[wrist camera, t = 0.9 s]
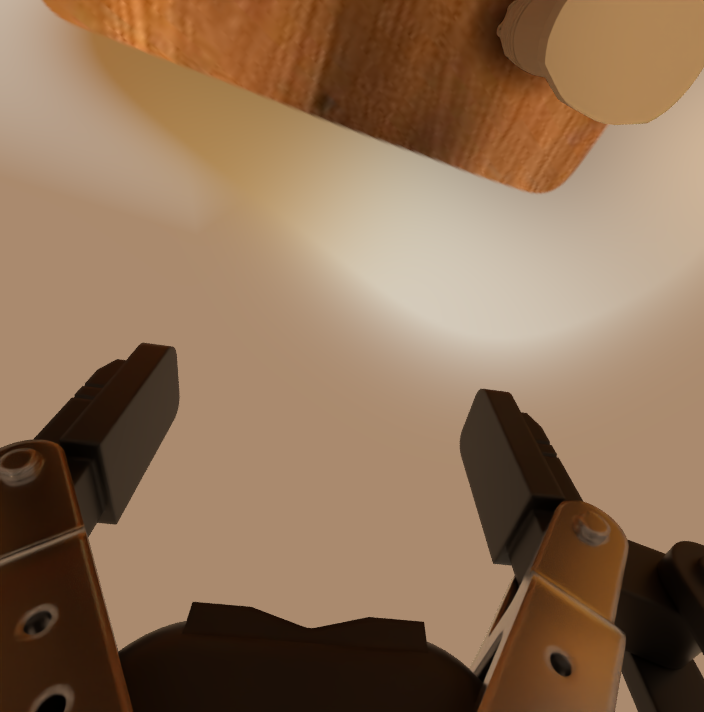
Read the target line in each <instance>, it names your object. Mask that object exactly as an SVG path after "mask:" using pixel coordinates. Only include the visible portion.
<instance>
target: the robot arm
mask: <svg viewBox="0 0 704 712" xmlns="http://www.w3.org/2000/svg"><path fill="white" fill-rule="evenodd" d="M178 383H179V381H178V367H177V354H176V350H175V348H174V347H171V346H164V345H156V344H149V343H141V344H140V345H139V346H138V347H137V348H136V350H135V351H134V352H133V353H132V354H131V355H130V356H129V358H128V359H127V360H119V359H117V360H115V361H113V362H111V363H109V364H107V365H106V366H104V367H102V368H100V369H98V370H97V371H96V372H95V373H94V374H93V375H92V377H90V379H89V380H88V381H87V382H86V383H85V386H82V387H81V388H80V389H79V390H78V392H77V393H76V394H75V397H74V398H71V399H70V400H69V401H68V402H67V404H66V405H65V406H64V407H63V408H62V409H61V410H60V411H59V412H58V413H57V414H56V415H55V417H54V418H53V419H52V420H51V421H50V422H49V423H48V424H47V425H46V426H45V428H43V430H42V431H41V432H40V433H39V434H38V435H37V436H36V437H35V438H34V439H33V440H25V441H20V442H16V443H12V444H10V445H7V446H4V447H2V448H0V712H615V707H616V701H617V694H618V689H619V682H620V676H621V672H622V674H623V676H624V679H625V681H626V684H627V686H628V688H629V691H630V693H631V696H632V698H633V700H634V703H635V705H636V708H637V710H638V712H704V678H703V676H702V675H701V672H700V671H699V669H698V667H697V665H696V663H695V662H694V660H693V658H695V657H696V656H697V655H698V654H699V653H701V652H703V655H704V545H701V544H698V543H694V542H689V541H682V542H678V543H676V544H675V545H674V546H673V547H672V548H671V549H670V550H669V551H668V552H667V553H666V554H664V553H662V552H659V551H656V550H654V549H651V548H648V547H646V546H643V545H640V544H638V543H635V542H632V541H630V540H627V538H626V536H625V534H624V532H623V530H622V529H621V528H620V526H619V525H618V524H617V523H616V522H615V521H614V520H613V519H612V518H611V517H610V516H609V515H607V514H606V513H605V512H603V511H602V510H600V509H599V508H597V507H595V506H593V505H591V504H588V503H585V502H583V500H582V499H581V497H580V495H579V493H578V491H577V490H576V488H575V486H574V484H573V482H572V481H571V479H570V477H569V475H568V474H567V472H566V470H565V468H564V466H563V465H562V463H561V461H560V459H559V458H557V457H556V456H557V454H556V452H555V450H554V449H553V447H552V445H550V442H549V440H548V438H547V436H546V434H545V433H544V431H543V429H542V428H541V426H540V425H539V424H538V423H537V422H535V421H534V420H533V419H532V418H531V417H530V416H529V415H528V414H527V413H521V412H520V410H519V408H518V406H517V404H516V402H515V400H514V399H513V396H512V395H511V394H510V393H509V392H503V391H495V390H488V389H480V390H479V391H478V392H477V394H476V396H475V399H474V401H473V404H472V406H471V409H470V412H469V414H468V417H467V419H466V422H465V425H464V427H463V430H462V432H461V438H460V453H461V457H462V460H463V463H464V467H465V470H466V474H467V477H468V480H469V483H470V487H471V490H472V494H473V497H474V501H475V504H476V507H477V511H478V514H479V517H480V521H481V524H482V528H483V531H484V534H485V537H486V541H487V544H488V548H489V551H490V554H491V558H492V561H493V564H503V565H512V568H513V571H514V574H515V576H514V577H513V579H512V580H511V582H510V584H509V586H508V589H507V591H506V593H505V595H504V597H503V599H502V602H501V604H500V606H499V608H498V610H497V613H496V615H495V617H494V619H493V621H492V623H491V626H490V628H489V630H488V632H487V634H486V637H485V639H484V641H483V643H482V645H481V647H480V649H479V651H478V653H477V655H476V657H475V659H474V661H473V662H472V664H471V666H470V668H467V667H466V666H465V665H464V664H463V663H462V662H461V661H459V660H458V659H457V658H455V657H454V656H452V655H451V654H449V653H448V652H446V651H445V650H443V649H441V648H439V647H437V646H435V645H434V644H431V643H429V642H427V641H426V634H425V627H424V622H419V621H407V620H396V619H385V618H384V619H383V618H373V617H368V618H362V619H357V620H352V621H347V622H343V623H337V624H332V625H327V626H323V627H317V628H306V627H303V626H300V625H297V624H295V623H292V622H290V621H287V620H284V619H282V618H279V617H276V616H274V615H271V614H269V613H266V612H263V611H261V610H258V609H255V608H253V607H246V606H234V605H223V604H212V603H211V604H210V603H199V602H193V603H192V606H191V609H190V612H189V615H188V618H187V621H184V622H179V623H175V624H172V625H169V626H166V627H162V628H160V629H158V630H155V631H153V632H151V633H148V634H146V635H144V636H143V637H141V638H139V639H137V640H136V641H134V642H132V643H130V644H129V645H127V646H126V647H124V648H123V649H122V650H120V651H119V652H118V648H117V645H116V641H115V637H114V633H113V630H112V626H111V622H110V618H109V615H108V611H107V607H106V603H105V600H104V596H103V592H102V588H101V585H100V581H99V577H98V573H97V570H96V566H95V562H94V558H93V554H92V551H91V547H90V543H89V540H88V537H89V535H90V534H91V532H92V530H93V529H94V527H95V525H96V523H107V524H117V523H118V521H119V519H120V517H121V515H122V513H123V512H124V510H125V508H126V506H127V504H128V503H129V501H130V499H131V497H132V495H133V493H134V492H135V490H136V488H137V486H138V484H139V482H140V480H141V479H142V477H143V475H144V473H145V472H146V470H147V468H148V466H149V464H150V462H151V461H152V459H153V457H154V455H155V453H156V451H157V450H158V448H159V446H160V444H161V442H162V441H163V439H164V437H165V435H166V433H167V432H168V430H169V428H170V426H171V424H172V422H173V421H174V418H175V416H176V414H177V410H178V405H179V384H178Z"/></svg>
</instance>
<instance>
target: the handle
mask: <svg viewBox="0 0 704 712" xmlns="http://www.w3.org/2000/svg"><path fill="white" fill-rule="evenodd" d="M497 36H499V37H500V39H501V43H502V47H503V50H504V54H505V56H506V57H507V58H508V59H510V60H511V61H512V62H513V63H514V64H515V65H516V66H518V67H519V68H521V69H522V70H524V71H526V72H528V73H530V74H532V75H536V76H540V77H545V78H546V80H547V82H548V83H549V85H550V87H551V89H552V90H553V92H554V94H555V95H556V97H557V98H558V99H559V100H560V101H561V102H563V103H564V104H566V105H568V106H570V107H571V108H573V109H575V110H577V111H578V112H580V113H582V114H584V115H586V116H587V117H589V118H591V119H593V120H595V121H598V122H600V123H603V124H613V125H621V124H643V123H648V122H650V121H652V120H654V119H656V118H657V117H659V116H660V115H662V114H663V113H664V112H666V111H667V110H668V109H670V108H671V107H672V106H673V105H674V104H675V103H676V102H677V101H678V100H679V99H680V98H681V97H682V96H683V95H684V93H685V92H686V91H687V90H688V89H689V88H690V86H691V85H692V84H693V82H694V81H695V80H696V78H697V77H698V76H699V74H700V72H701V71H702V69H703V67H704V0H515V1H513V2H512V3H511V4H510V5H509V6H508V7H507V13H506V16H505V18H504V19H503V21H502V22H501V24H500V25H498V27H497Z"/></svg>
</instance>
